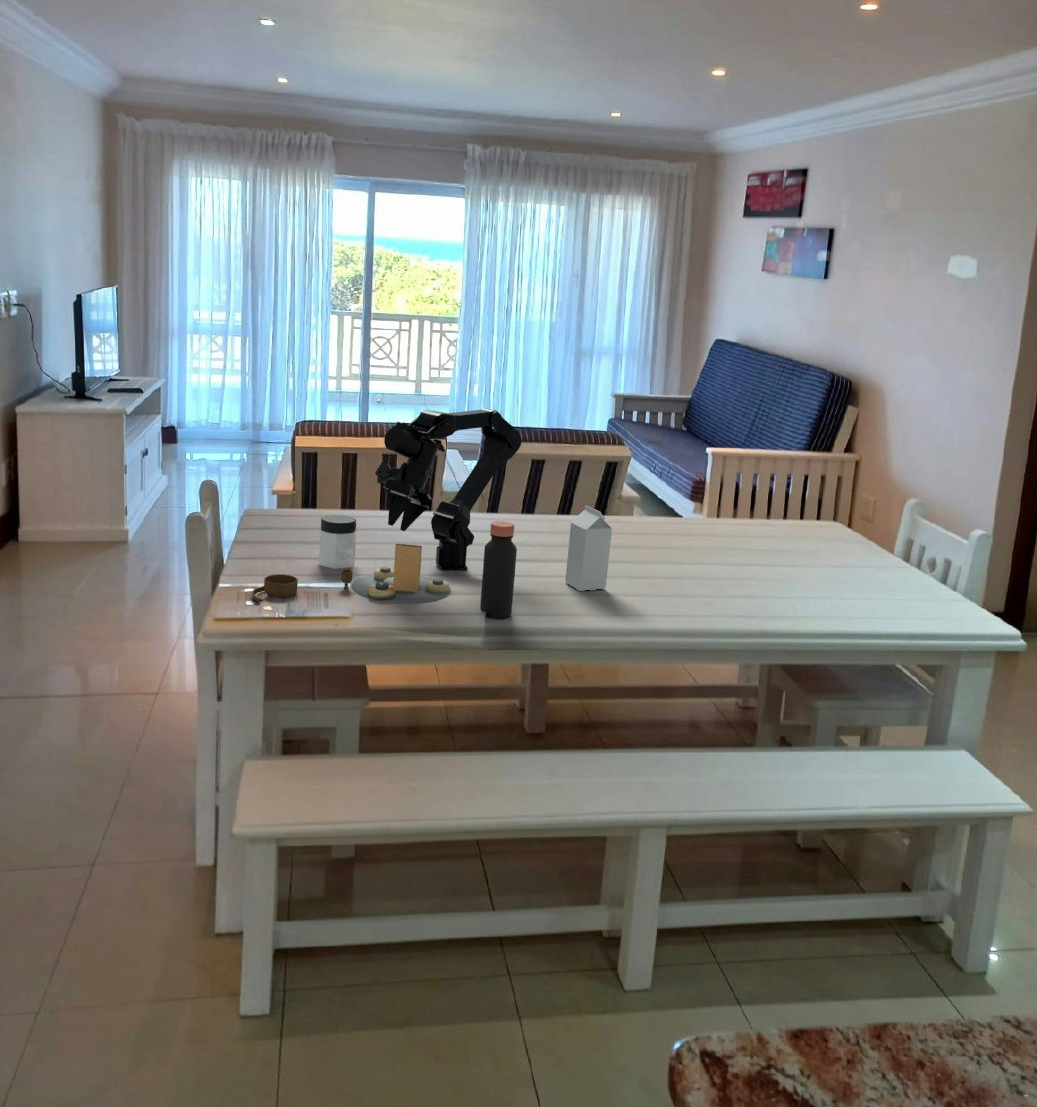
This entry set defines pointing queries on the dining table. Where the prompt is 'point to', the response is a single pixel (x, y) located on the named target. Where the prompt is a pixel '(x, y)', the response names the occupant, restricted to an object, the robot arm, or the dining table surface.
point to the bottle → (499, 571)
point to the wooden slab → (401, 573)
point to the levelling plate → (427, 591)
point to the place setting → (289, 585)
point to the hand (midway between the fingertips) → (396, 528)
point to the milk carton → (588, 551)
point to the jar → (337, 541)
